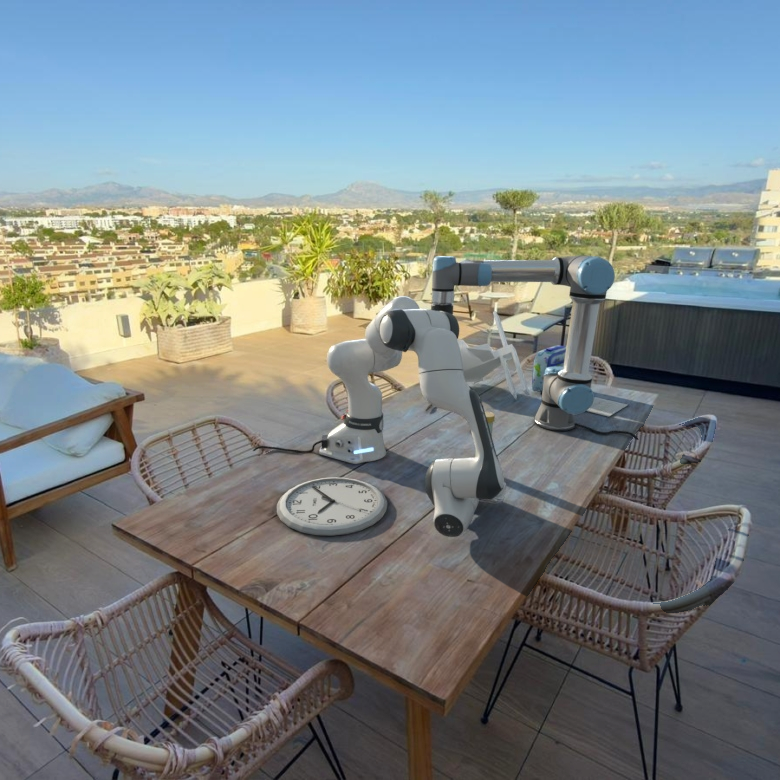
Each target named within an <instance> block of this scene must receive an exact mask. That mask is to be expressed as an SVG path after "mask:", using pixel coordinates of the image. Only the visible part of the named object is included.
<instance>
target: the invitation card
mask: <svg viewBox="0 0 780 780" xmlns="http://www.w3.org/2000/svg"><path fill="white" fill-rule="evenodd" d="M628 406H629V404H627V403H623V402H618V401H614V400H609V399H605V398H601V397H596V396H594V401H593V404H592V405H591V407H590V408H589V409H588V410H586V411H585V412H587V413H593V414H596V415H600V416H604V417H608V418H609V417H611V416H613V415H614V414H616V413H617V412H619V411H621V410H623V409H624V408H626V407H628Z"/></svg>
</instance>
